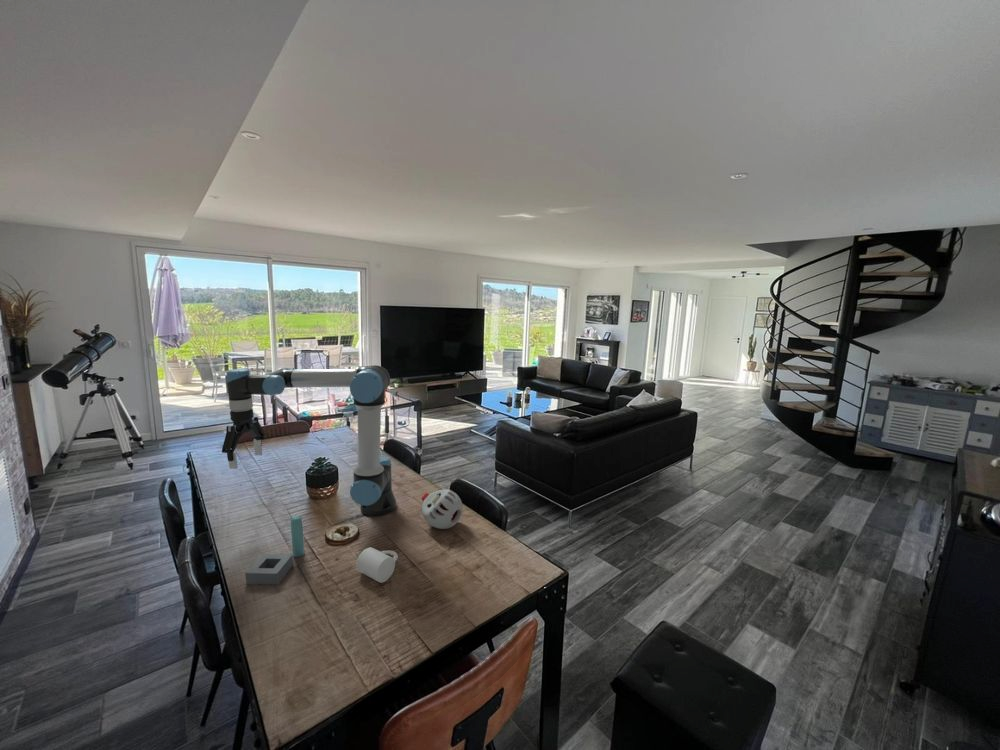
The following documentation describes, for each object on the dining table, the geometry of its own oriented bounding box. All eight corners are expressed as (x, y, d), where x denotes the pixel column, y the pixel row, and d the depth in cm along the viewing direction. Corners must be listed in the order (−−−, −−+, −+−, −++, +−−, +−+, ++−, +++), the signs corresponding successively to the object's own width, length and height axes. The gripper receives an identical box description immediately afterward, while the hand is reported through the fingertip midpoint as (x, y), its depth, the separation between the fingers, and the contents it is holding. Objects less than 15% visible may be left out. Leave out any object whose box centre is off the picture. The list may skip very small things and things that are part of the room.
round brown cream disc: (323, 528, 162) (323, 519, 161) (362, 524, 166) (362, 514, 165) (318, 550, 148) (318, 540, 147) (361, 544, 152) (361, 534, 151)
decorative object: (436, 509, 178) (436, 478, 175) (469, 523, 167) (469, 490, 164) (410, 524, 165) (409, 490, 162) (443, 541, 154) (443, 505, 152)
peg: (306, 551, 146) (303, 515, 144) (301, 557, 143) (298, 521, 140) (296, 550, 146) (293, 515, 144) (291, 557, 143) (288, 520, 140)
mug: (377, 587, 129) (376, 565, 127) (356, 576, 134) (355, 554, 132) (404, 567, 139) (403, 546, 137) (384, 557, 144) (383, 537, 142)
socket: (293, 564, 139) (292, 554, 138) (277, 584, 129) (276, 573, 128) (264, 564, 139) (263, 553, 138) (246, 584, 129) (245, 573, 128)
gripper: (255, 401, 167) (259, 449, 171) (205, 417, 143) (212, 473, 146) (272, 401, 166) (276, 450, 170) (225, 418, 142) (231, 475, 146)
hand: (246, 461), depth 158 cm, fingers open, 13 cm apart
